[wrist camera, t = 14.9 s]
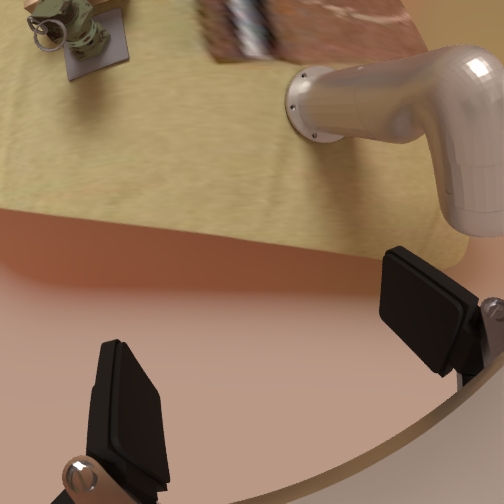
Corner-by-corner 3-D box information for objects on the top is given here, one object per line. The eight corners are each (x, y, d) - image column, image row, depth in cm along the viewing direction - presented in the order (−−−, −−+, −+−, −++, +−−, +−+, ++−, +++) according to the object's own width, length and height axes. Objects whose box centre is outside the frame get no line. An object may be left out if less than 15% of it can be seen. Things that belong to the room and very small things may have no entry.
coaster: (120, 8, 26) (120, 6, 25) (129, 58, 30) (128, 57, 30) (62, 30, 25) (61, 29, 24) (69, 81, 29) (68, 80, 28)
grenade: (76, 20, 24) (40, -20, 11) (115, 26, 27) (93, -18, 14) (54, 65, 26) (5, 42, 13) (93, 72, 29) (55, 47, 16)
